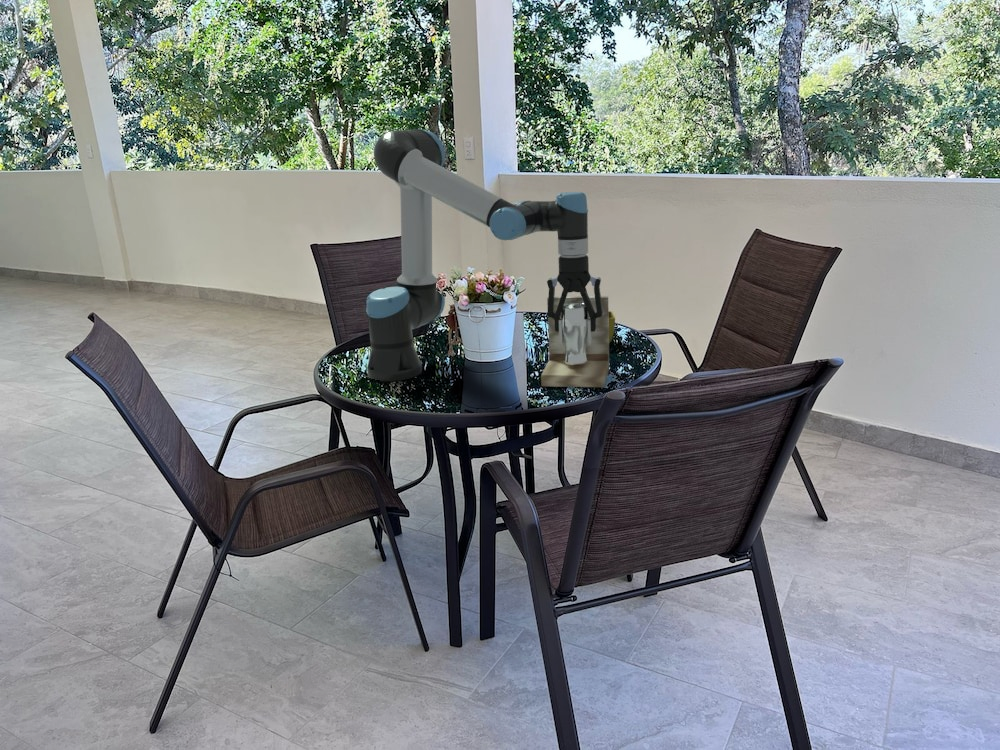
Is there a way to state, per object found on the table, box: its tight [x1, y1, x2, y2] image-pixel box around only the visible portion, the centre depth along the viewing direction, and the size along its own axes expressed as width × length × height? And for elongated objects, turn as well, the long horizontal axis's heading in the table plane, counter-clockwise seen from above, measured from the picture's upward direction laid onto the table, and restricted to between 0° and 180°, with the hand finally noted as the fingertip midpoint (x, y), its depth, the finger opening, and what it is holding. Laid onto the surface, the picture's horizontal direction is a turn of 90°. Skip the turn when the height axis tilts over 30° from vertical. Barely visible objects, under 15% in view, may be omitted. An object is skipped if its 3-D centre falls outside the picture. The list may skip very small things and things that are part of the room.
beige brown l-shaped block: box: [540, 295, 610, 388], centre depth 198 cm, size 16×16×20 cm
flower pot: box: [609, 310, 616, 344], centre depth 230 cm, size 9×9×9 cm
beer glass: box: [561, 303, 588, 365], centre depth 198 cm, size 7×7×15 cm
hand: (575, 343), depth 199 cm, fingers closed on beer glass, 7 cm apart
